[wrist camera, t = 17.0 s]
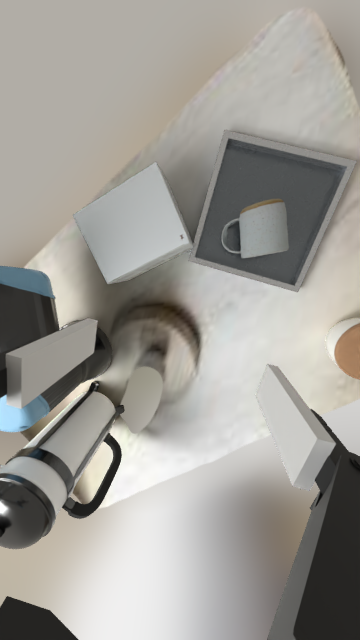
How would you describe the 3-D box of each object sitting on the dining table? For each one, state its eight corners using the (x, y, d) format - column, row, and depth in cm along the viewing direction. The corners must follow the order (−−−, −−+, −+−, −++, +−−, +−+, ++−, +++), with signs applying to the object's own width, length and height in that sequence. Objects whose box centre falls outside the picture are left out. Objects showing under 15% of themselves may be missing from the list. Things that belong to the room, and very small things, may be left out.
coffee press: (76, 426, 58) (-55, 581, 29) (72, 377, 54) (-86, 503, 25) (134, 436, 56) (52, 615, 27) (133, 386, 52) (37, 535, 23)
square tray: (189, 261, 42) (188, 260, 40) (223, 137, 35) (224, 129, 34) (293, 291, 40) (297, 292, 38) (348, 167, 34) (356, 161, 32)
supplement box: (169, 183, 39) (156, 158, 30) (195, 248, 41) (191, 243, 32) (99, 224, 43) (69, 213, 34) (127, 281, 45) (106, 285, 36)
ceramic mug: (278, 202, 35) (293, 191, 28) (281, 249, 38) (295, 251, 31) (218, 218, 38) (217, 212, 31) (224, 261, 41) (225, 265, 33)
